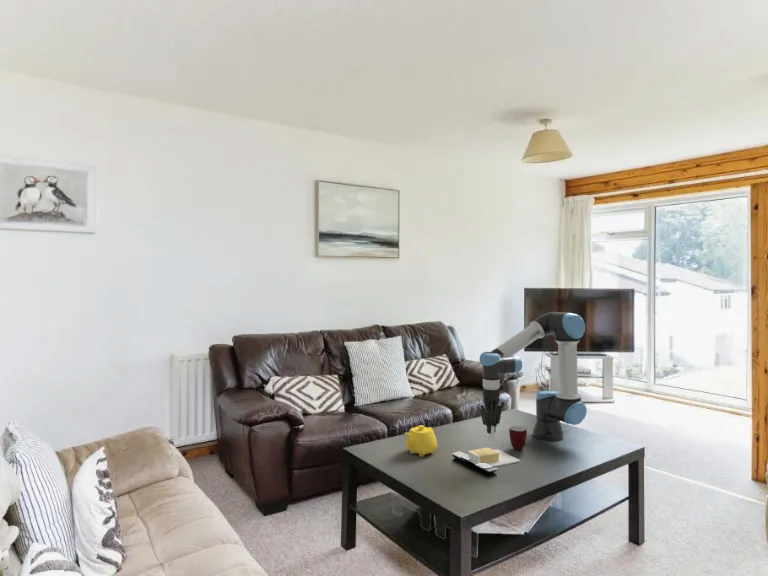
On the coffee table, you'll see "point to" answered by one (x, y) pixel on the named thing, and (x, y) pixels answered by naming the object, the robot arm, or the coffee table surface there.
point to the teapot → (421, 440)
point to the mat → (504, 459)
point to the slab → (484, 455)
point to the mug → (518, 437)
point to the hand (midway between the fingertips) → (491, 439)
